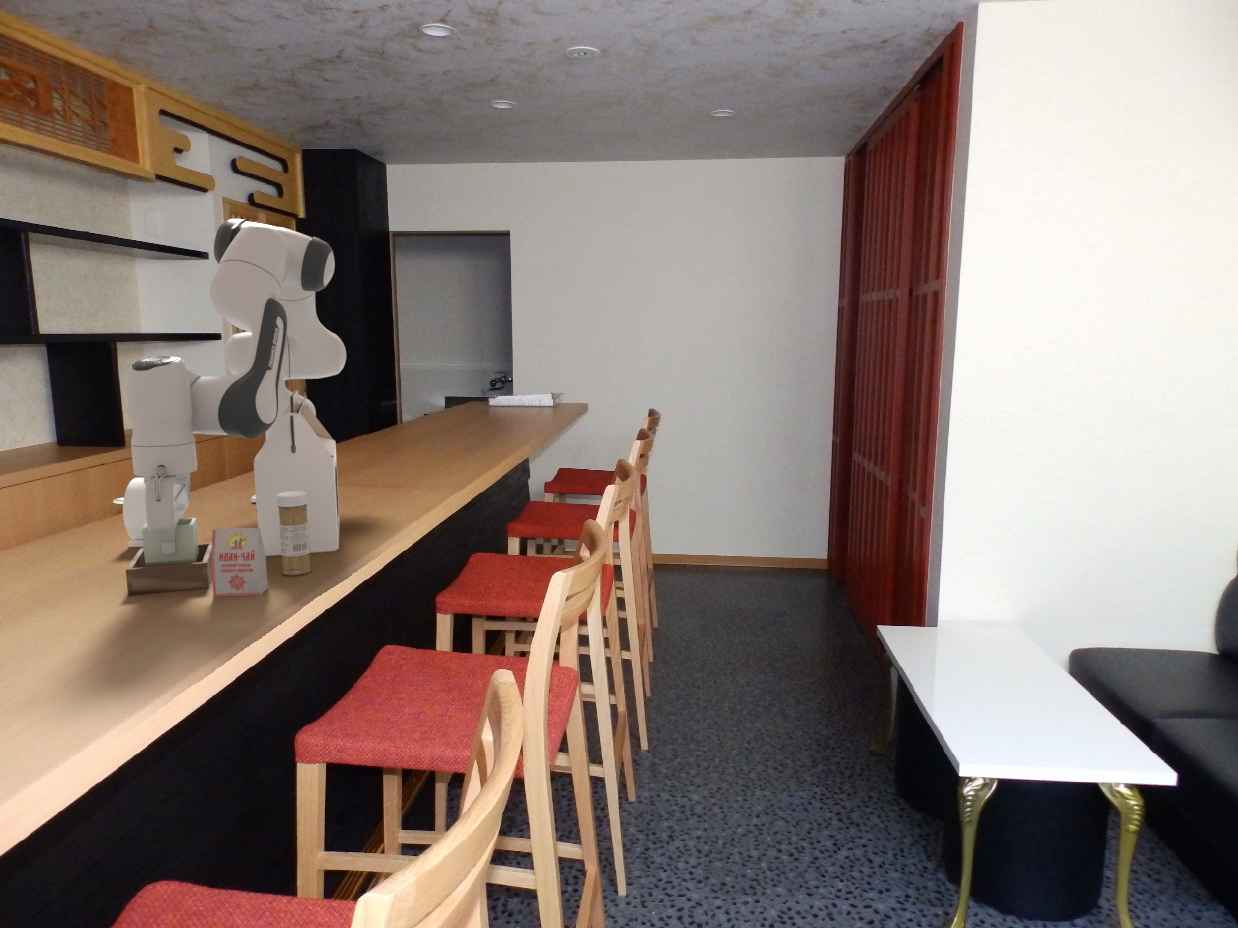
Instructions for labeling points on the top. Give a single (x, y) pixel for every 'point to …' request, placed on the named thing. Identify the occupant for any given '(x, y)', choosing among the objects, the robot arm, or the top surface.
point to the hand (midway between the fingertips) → (172, 547)
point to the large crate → (169, 574)
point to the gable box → (298, 478)
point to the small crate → (184, 545)
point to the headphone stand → (135, 511)
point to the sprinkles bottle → (294, 532)
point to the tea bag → (238, 562)
